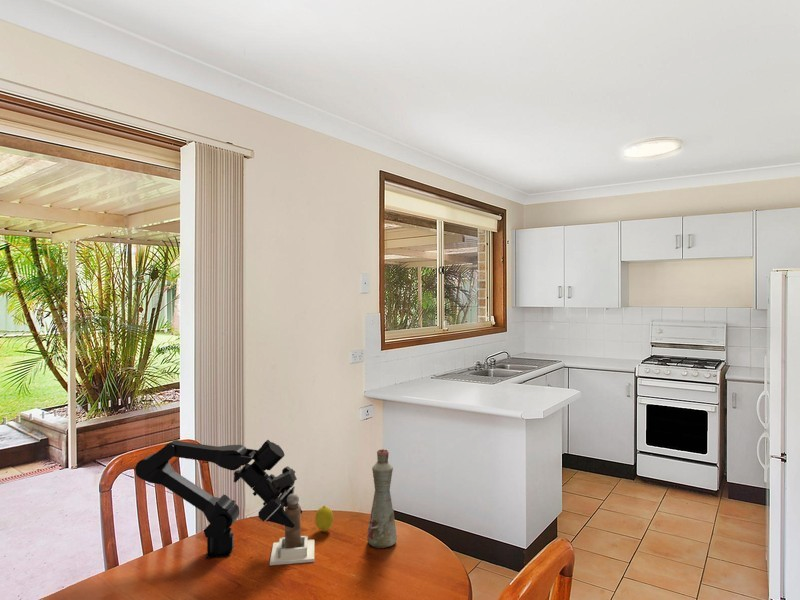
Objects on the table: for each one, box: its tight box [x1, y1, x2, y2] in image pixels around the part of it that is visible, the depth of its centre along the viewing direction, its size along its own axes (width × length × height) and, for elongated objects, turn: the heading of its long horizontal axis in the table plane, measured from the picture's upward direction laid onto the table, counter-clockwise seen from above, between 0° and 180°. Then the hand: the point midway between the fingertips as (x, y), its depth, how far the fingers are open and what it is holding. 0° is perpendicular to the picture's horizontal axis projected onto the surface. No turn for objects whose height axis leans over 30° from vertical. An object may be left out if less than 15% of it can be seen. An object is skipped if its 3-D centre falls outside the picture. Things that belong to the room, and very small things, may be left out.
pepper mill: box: [284, 492, 302, 548], centre depth 150 cm, size 4×4×16 cm
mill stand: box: [269, 535, 315, 566], centre depth 149 cm, size 12×12×3 cm
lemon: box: [314, 505, 334, 532], centre depth 164 cm, size 6×6×8 cm
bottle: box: [366, 449, 398, 549], centre depth 155 cm, size 9×9×28 cm
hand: (297, 519), depth 149 cm, fingers open, 9 cm apart
